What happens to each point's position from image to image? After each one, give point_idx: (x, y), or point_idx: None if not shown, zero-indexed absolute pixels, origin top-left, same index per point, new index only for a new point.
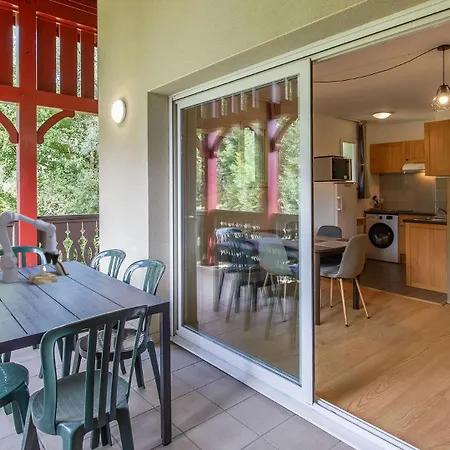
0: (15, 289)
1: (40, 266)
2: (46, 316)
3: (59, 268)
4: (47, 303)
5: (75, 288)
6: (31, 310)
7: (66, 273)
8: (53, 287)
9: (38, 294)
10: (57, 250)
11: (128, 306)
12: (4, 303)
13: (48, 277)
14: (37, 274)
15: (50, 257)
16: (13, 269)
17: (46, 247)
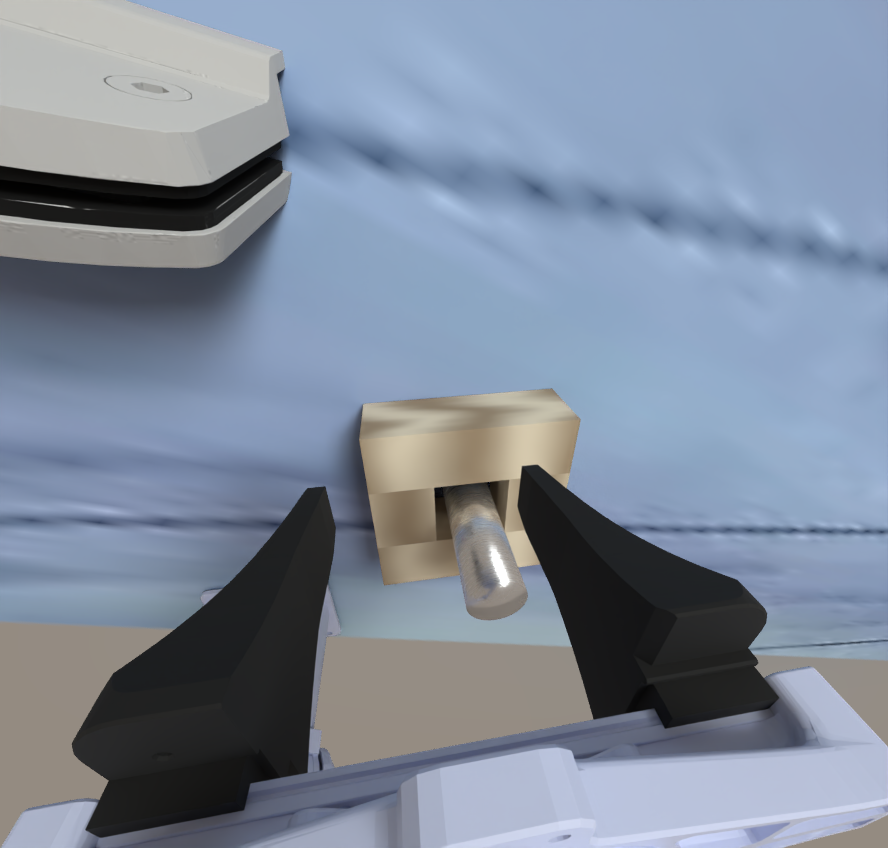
0: (526, 613)
1: (494, 619)
2: None
3: (232, 250)
4: (870, 563)
5: (862, 372)
6: (861, 609)
7: (282, 128)
8: (682, 470)
9: (723, 560)
10: (577, 763)
11: None
12: None
13: None
14: (381, 534)
15: (296, 583)
16: (313, 716)
17: None
